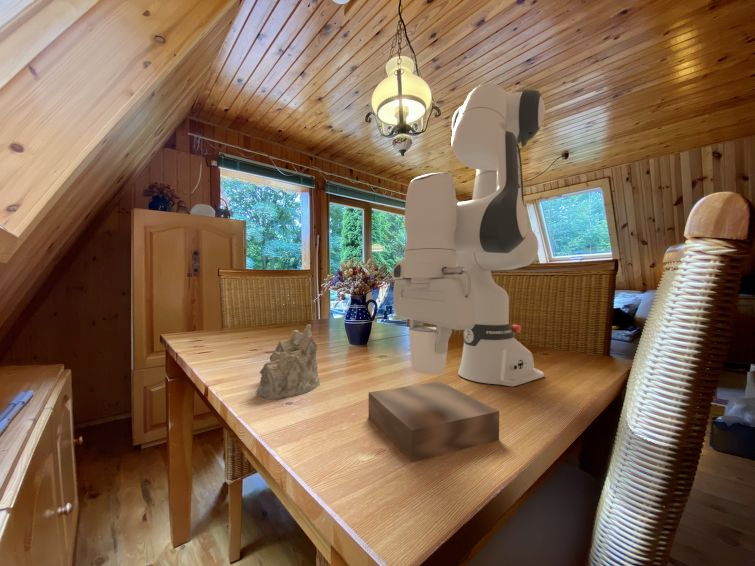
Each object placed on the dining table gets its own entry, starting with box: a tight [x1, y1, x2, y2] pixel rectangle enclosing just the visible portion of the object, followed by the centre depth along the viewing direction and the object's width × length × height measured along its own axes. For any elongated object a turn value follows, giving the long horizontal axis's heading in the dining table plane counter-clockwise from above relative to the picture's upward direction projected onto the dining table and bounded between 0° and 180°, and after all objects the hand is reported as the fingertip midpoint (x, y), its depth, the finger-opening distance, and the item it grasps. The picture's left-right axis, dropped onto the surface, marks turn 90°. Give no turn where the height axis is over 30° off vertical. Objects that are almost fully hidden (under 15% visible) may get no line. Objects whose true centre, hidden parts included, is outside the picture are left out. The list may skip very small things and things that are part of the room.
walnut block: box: [368, 380, 500, 464], centre depth 54 cm, size 16×16×5 cm
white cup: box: [408, 325, 449, 375], centre depth 54 cm, size 7×7×7 cm
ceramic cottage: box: [256, 323, 321, 400], centre depth 75 cm, size 16×16×15 cm
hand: (428, 348), depth 54 cm, fingers closed on white cup, 5 cm apart
